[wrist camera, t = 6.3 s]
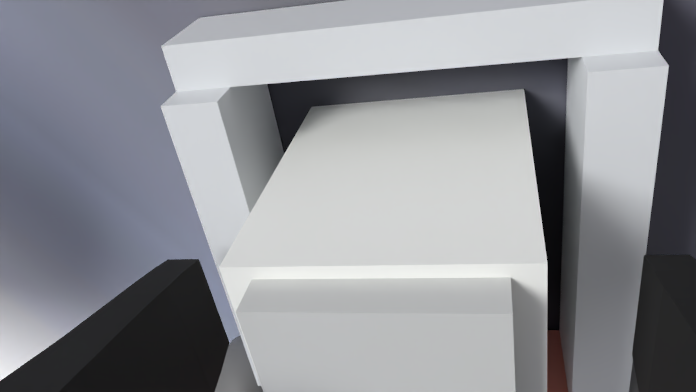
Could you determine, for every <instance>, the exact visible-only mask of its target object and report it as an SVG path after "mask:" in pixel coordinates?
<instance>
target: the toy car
mask: <svg viewBox="0 0 696 392" xmlns="http://www.w3.org/2000/svg"><path fill="white" fill-rule="evenodd" d="M663 1H664V0H346V1H337V2H329V3H320V4H312V5H303V6H295V7H286V8H278V9H270V10H261V11H253V12H244V13H236V14H227V15H219V16H210V17H202V18H199V19H197V20H196V21H195V22H193V23H192V24H191V25H189V26H188V27H186V28H185V29H184V30H182V31H181V32H180V33H178V34H177V35H176V36H174V37H173V38H172V39H170V40H169V41H168V42H166V43H165V44H164V45H162V46H161V47H162V50H163V53H164V56H165V59H166V62H167V65H168V68H169V71H170V74H171V77H172V80H173V83H174V86H175V89H176V92H175V93H174V94H173V95H172V96H171V97H170V98H169V99H168V100H167V101H166V102H165V103H164V104H162V105H161V109H162V112H163V115H164V117H165V120H166V123H167V126H168V129H169V132H170V135H171V138H172V140H173V143H174V146H175V149H176V152H177V155H178V158H179V161H180V163H181V166H182V169H183V172H184V175H185V178H186V181H187V184H188V186H189V189H190V192H191V195H192V198H193V201H194V204H195V207H196V209H197V212H198V215H199V218H200V221H201V224H202V227H203V229H204V232H205V235H206V238H207V241H208V244H209V247H210V250H211V252H212V255H213V258H214V261H215V264H216V267H217V270H218V273H219V275H220V278H221V281H222V284H223V287H224V290H225V293H226V296H227V298H228V301H229V304H230V307H231V310H232V313H233V316H234V319H235V321H236V324H237V327H238V330H239V333H240V336H238V337H236V338H235V339H234V340H233V341H232V342H231V343H230V344H229V346H228V349H227V353H226V356H225V360H224V363H223V367H222V371H221V374H220V377H219V380H218V383H217V386H216V389H215V392H263V389H262V387H261V384H260V381H259V378H258V375H257V373H256V370H255V367H254V364H253V362H252V359H251V356H250V353H249V350H248V348H247V345H246V342H245V339H244V336H243V334H242V331H241V328H240V325H239V322H238V320H237V317H236V314H235V311H234V309H233V306H232V303H231V300H230V297H229V295H228V292H227V289H226V286H225V283H224V281H223V278H222V275H221V272H220V269H219V266H220V265H221V263H222V261H223V259H224V258H225V256H226V254H227V252H228V251H229V249H230V247H231V245H232V244H233V242H234V240H235V239H236V237H237V235H238V233H239V232H240V230H241V228H242V226H243V225H244V223H245V221H246V219H247V218H248V216H249V214H250V213H251V211H252V209H253V207H254V206H255V204H256V202H257V200H258V199H259V197H260V195H261V194H262V192H263V190H264V188H265V187H266V185H267V183H268V181H269V180H270V178H271V176H272V174H273V173H274V171H275V169H276V168H277V166H278V164H279V162H280V161H281V159H282V157H283V155H284V151H283V147H282V143H281V139H280V134H279V130H278V126H277V122H276V118H275V114H274V110H273V106H272V102H271V98H270V93H269V89H268V85H267V84H272V83H284V82H296V81H307V80H319V79H331V78H342V77H354V76H366V75H377V74H389V73H401V72H412V71H424V70H436V69H447V68H459V67H471V66H482V65H494V64H506V63H517V62H529V61H541V60H552V59H564V58H568V71H567V102H566V134H565V166H564V198H563V230H562V262H561V294H560V326H559V330H547V392H639V390H638V384H637V379H636V373H635V368H634V362H633V357H632V350H633V342H634V333H635V325H636V317H637V308H638V300H639V292H640V284H641V275H642V267H643V259H644V255H646V249H647V241H648V232H649V224H650V216H651V208H652V200H653V192H654V184H655V175H656V167H657V159H658V151H659V143H660V135H661V126H662V118H663V110H664V102H665V94H666V86H667V78H668V69H669V65H668V64H667V62H666V61H665V60H664V58H663V57H662V55H661V54H660V53H659V51H658V46H659V37H660V28H661V19H662V10H663Z"/></svg>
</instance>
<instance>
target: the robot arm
mask: <svg viewBox="0 0 696 392" xmlns="http://www.w3.org/2000/svg"><path fill="white" fill-rule="evenodd" d="M228 346H229V341H228V338H227V335H226V333H225V330H224V327H223V324H222V322H221V319H220V316H219V313H218V311H217V308H216V305H215V302H214V300H213V297H212V294H211V291H210V289H209V286H208V283H207V280H206V278H205V275H204V272H203V269H202V267H201V264H200V261H199V259H182V260H167V261H165V262H164V263H162V264H161V265H159V266H157V267H156V268H155V269H153V270H152V271H150V272H149V273H147V274H146V275H145V276H143V277H142V278H140V279H139V280H138V281H136V282H135V283H134V284H132V285H131V286H130V287H128V288H127V289H126V290H124V291H123V292H122V293H120V294H119V295H118V296H116V297H115V298H114V299H113V300H111V301H110V302H109V303H107V304H106V305H105V306H103V307H102V308H101V309H99V310H98V311H97V312H95V313H94V314H93V315H91V316H90V317H89V318H87V319H86V320H85V321H83V322H82V323H81V324H79V325H78V326H77V327H75V328H74V329H73V330H71V331H70V332H69V333H67V334H66V335H65V336H63V337H62V338H61V339H59V340H58V341H56V342H55V343H54V344H52V345H51V346H49V347H48V348H47V349H45V350H44V351H42V352H41V353H39V354H38V355H37V356H35V357H34V358H32V359H31V360H30V361H28V362H27V363H25V364H24V365H22V366H21V367H20V368H18V369H17V370H15V371H14V372H13V373H11V374H10V375H8V376H7V377H5V378H4V379H3V380H1V381H0V392H215V389H216V386H217V383H218V380H219V377H220V374H221V371H222V367H223V363H224V360H225V356H226V353H227V349H228ZM632 357H633V362H634V368H635V373H636V379H637V384H638V390H639V392H696V260H695V259H694V258H693V257H692V256H691V255H644V259H643V267H642V275H641V284H640V292H639V300H638V308H637V317H636V325H635V333H634V342H633V350H632Z"/></svg>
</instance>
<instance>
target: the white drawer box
mask: <svg viewBox="0 0 696 392" xmlns="http://www.w3.org/2000/svg"><path fill="white" fill-rule="evenodd" d="M219 269H220V272H221V275H222V278H223V281H224V283H225V286H226V289H227V292H228V295H229V297H230V300H231V303H232V306H233V309H234V311H235V314H236V317H237V320H238V322H239V325H240V328H241V331H242V334H243V336H244V339H245V342H246V345H247V348H248V350H249V353H250V356H251V359H252V362H253V364H254V367H255V370H256V373H257V375H258V378H259V381H260V384H261V387H262V389H263V392H547V272H548V263H547V256H546V248H545V241H544V234H543V226H542V219H541V211H540V204H539V197H538V189H537V182H536V174H535V167H534V160H533V152H532V145H531V138H530V130H529V123H528V115H527V108H526V101H525V93H524V89H518V90H506V91H494V92H482V93H470V94H458V95H446V96H435V97H423V98H411V99H399V100H387V101H375V102H363V103H351V104H339V105H327V106H315V107H311V109H310V110H309V112H308V114H307V116H306V117H305V119H304V121H303V123H302V124H301V126H300V128H299V129H298V131H297V133H296V135H295V136H294V138H293V140H292V142H291V143H290V145H289V147H288V149H287V150H286V152H285V154H284V155H283V157H282V159H281V161H280V162H279V164H278V166H277V168H276V169H275V171H274V173H273V174H272V176H271V178H270V180H269V181H268V183H267V185H266V187H265V188H264V190H263V192H262V194H261V195H260V197H259V199H258V200H257V202H256V204H255V206H254V207H253V209H252V211H251V213H250V214H249V216H248V218H247V219H246V221H245V223H244V225H243V226H242V228H241V230H240V232H239V233H238V235H237V237H236V239H235V240H234V242H233V244H232V245H231V247H230V249H229V251H228V252H227V254H226V256H225V258H224V259H223V261H222V263H221V265H220V266H219Z"/></svg>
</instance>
